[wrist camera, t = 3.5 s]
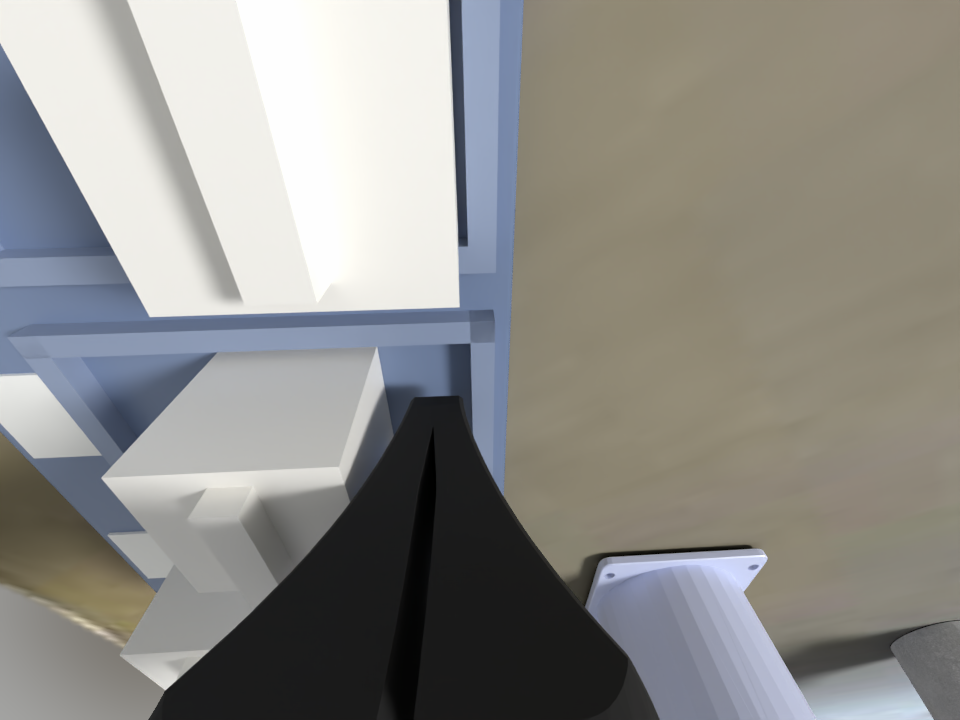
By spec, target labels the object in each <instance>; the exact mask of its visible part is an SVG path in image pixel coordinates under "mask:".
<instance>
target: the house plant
mask: <svg viewBox="0 0 960 720" xmlns="http://www.w3.org/2000/svg"><path fill="white" fill-rule="evenodd" d="M891 650H892V652H893V654H894V655H895V657H896V659H897V660H898V662H899V663H900V665H901V667H902V668H903V670H904V672H905V673H906V675H907V676H908V678H909V680H910V681H911V683H912V685H913V686H914V688H915V689H916V691H917V693H918V694H919V696H920V698H921V699H922V701H923V702H924V704H925V706H926V707H927V709H928V711H929V712H930V714H931V715H932V717H933V719H934V720H960V621H950V622H945V623H939V624H935V625H931V626H927V627H924V628H921V629H918V630H916V631H913V632H911V633H909V634H906V635H904V636H902V637H901V638H899V639H897V640H896V641H895V642H894V643H893V644H892V645H891Z"/></svg>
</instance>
